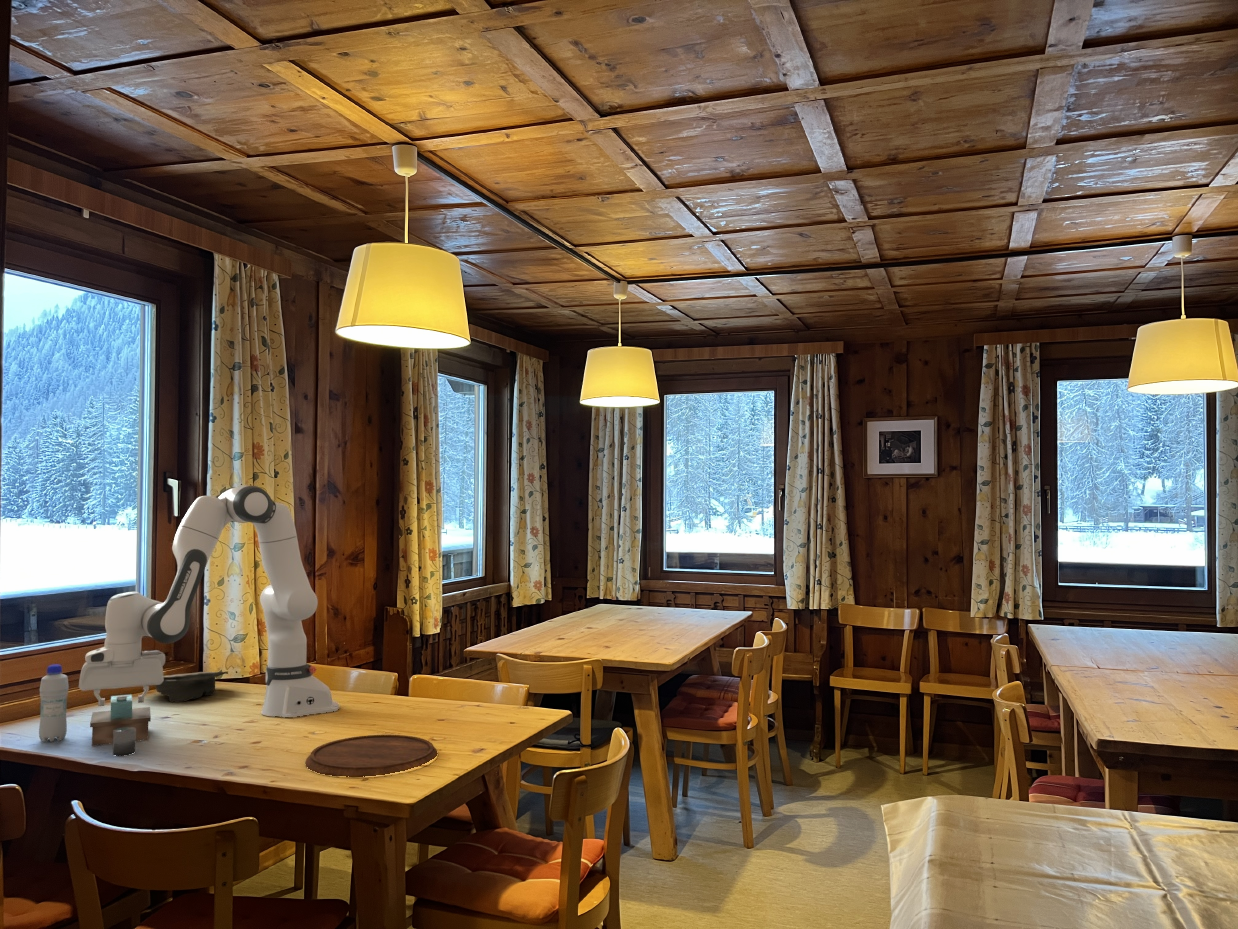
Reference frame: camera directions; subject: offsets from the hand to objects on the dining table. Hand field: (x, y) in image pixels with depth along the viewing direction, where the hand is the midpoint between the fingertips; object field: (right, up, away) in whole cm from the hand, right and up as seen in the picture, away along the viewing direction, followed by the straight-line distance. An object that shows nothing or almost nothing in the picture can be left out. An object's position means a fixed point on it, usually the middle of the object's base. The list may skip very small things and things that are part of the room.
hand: (121, 704), depth 246 cm
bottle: (-16, -9, -3) cm, 19 cm away
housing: (0, -3, -1) cm, 3 cm away
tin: (+9, -8, -16) cm, 20 cm away
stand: (0, -9, 0) cm, 9 cm away
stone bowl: (-7, -11, +51) cm, 53 cm away
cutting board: (+73, -9, -19) cm, 76 cm away
